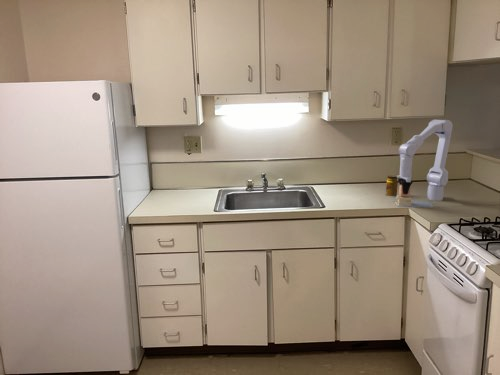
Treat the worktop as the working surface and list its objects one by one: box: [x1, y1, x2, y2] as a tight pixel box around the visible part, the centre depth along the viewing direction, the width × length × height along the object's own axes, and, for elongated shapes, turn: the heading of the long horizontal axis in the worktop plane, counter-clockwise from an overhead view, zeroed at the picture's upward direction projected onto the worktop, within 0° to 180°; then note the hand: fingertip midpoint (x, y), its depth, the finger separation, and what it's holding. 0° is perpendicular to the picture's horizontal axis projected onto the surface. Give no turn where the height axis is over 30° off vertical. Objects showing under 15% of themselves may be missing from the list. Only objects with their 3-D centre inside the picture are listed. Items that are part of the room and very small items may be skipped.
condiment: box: [385, 175, 399, 197], centre depth 241 cm, size 7×8×12 cm
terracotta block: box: [398, 184, 412, 197], centre depth 220 cm, size 4×4×5 cm
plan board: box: [392, 200, 435, 208], centre depth 222 cm, size 12×18×1 cm, turn 84°
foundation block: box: [395, 194, 412, 205], centre depth 222 cm, size 6×6×4 cm
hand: (404, 193), depth 221 cm, fingers closed on terracotta block, 4 cm apart
